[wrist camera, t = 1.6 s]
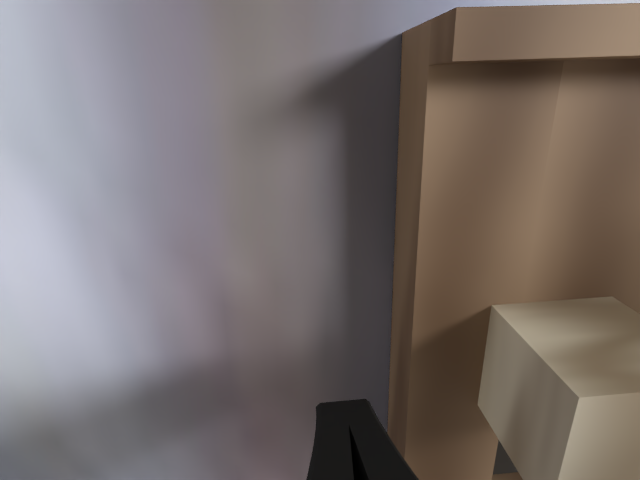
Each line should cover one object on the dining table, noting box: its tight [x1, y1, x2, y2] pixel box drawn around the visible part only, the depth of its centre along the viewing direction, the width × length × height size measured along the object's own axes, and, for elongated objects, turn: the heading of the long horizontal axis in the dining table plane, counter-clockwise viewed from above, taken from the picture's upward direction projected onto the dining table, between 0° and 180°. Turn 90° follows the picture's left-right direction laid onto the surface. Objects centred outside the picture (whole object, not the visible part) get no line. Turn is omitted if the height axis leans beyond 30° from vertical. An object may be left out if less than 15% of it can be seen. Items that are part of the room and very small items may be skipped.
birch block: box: [478, 297, 640, 480], centre depth 11 cm, size 4×4×4 cm
